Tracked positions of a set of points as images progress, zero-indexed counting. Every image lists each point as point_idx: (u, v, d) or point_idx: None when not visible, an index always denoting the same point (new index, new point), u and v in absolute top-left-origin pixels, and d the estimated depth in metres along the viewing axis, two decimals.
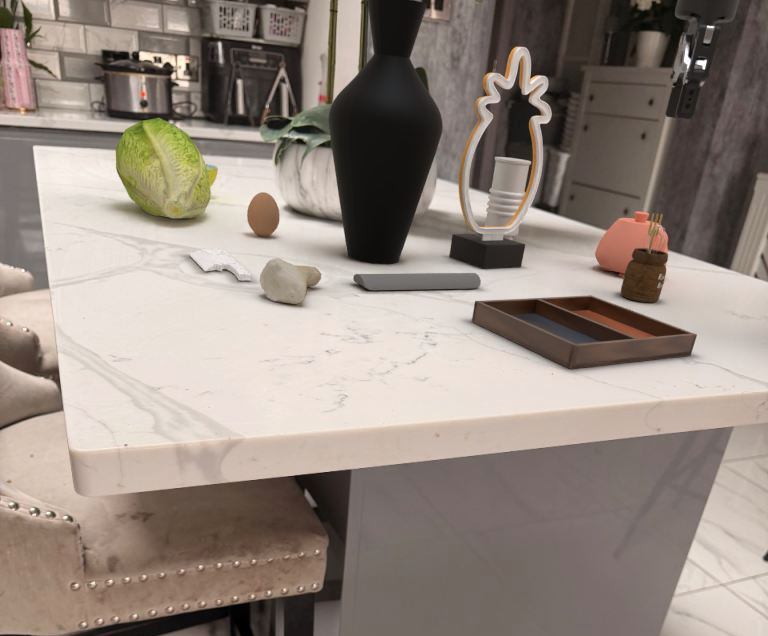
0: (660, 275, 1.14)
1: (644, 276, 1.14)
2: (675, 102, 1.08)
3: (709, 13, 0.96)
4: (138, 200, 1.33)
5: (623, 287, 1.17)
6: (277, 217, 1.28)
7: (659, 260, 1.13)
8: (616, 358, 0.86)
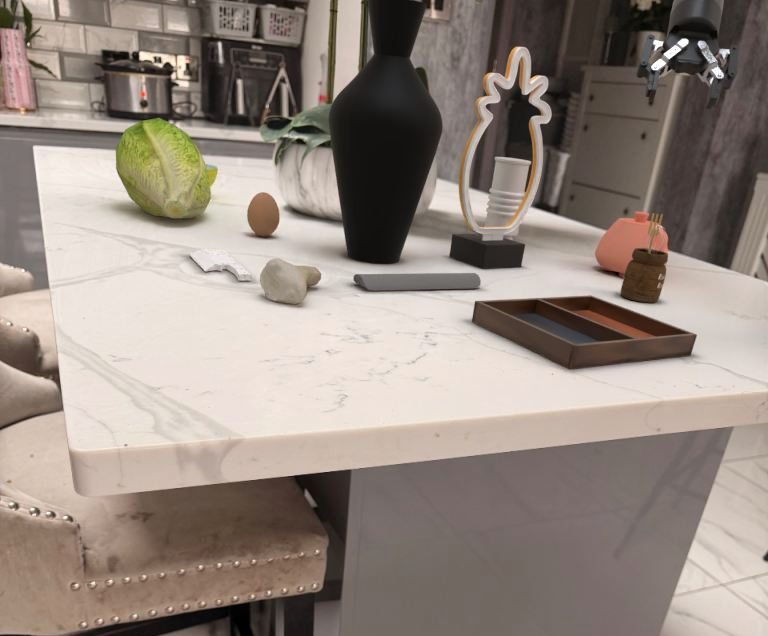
0: (660, 275, 1.14)
1: (644, 276, 1.14)
2: (708, 95, 1.15)
3: (667, 36, 1.18)
4: (138, 200, 1.33)
5: (623, 287, 1.17)
6: (277, 217, 1.28)
7: (659, 260, 1.13)
8: (616, 358, 0.86)
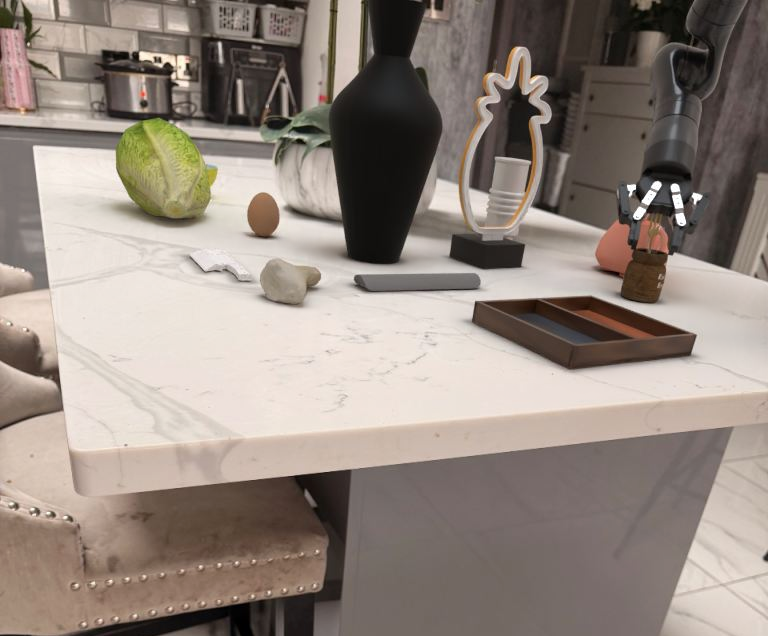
0: (659, 275, 1.14)
1: (644, 276, 1.14)
2: (670, 241, 1.13)
3: (640, 176, 1.17)
4: (138, 200, 1.33)
5: (623, 287, 1.17)
6: (277, 217, 1.28)
7: (659, 260, 1.13)
8: (616, 358, 0.86)
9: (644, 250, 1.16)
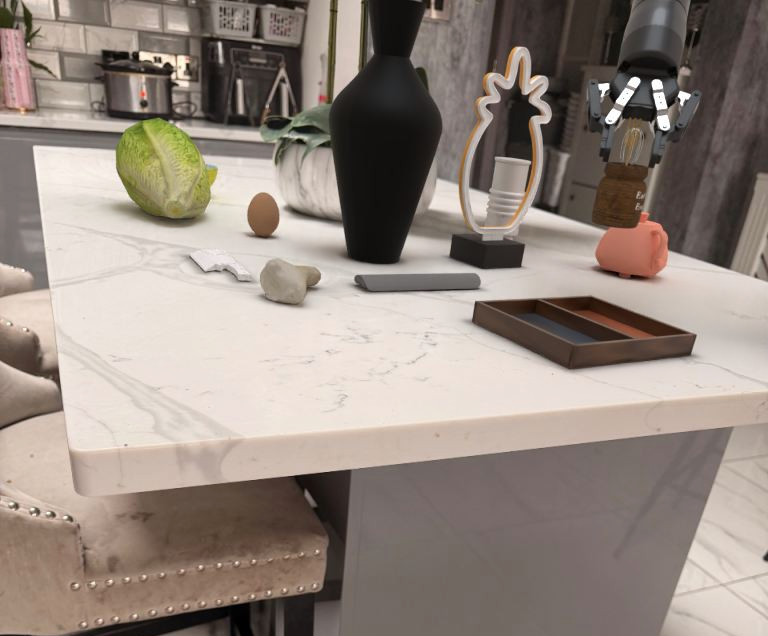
0: (638, 193, 0.92)
1: (618, 194, 0.92)
2: (651, 151, 0.91)
3: None
4: (138, 200, 1.33)
5: (594, 211, 0.95)
6: (277, 217, 1.28)
7: (637, 173, 0.91)
8: (616, 358, 0.86)
9: (620, 165, 0.95)
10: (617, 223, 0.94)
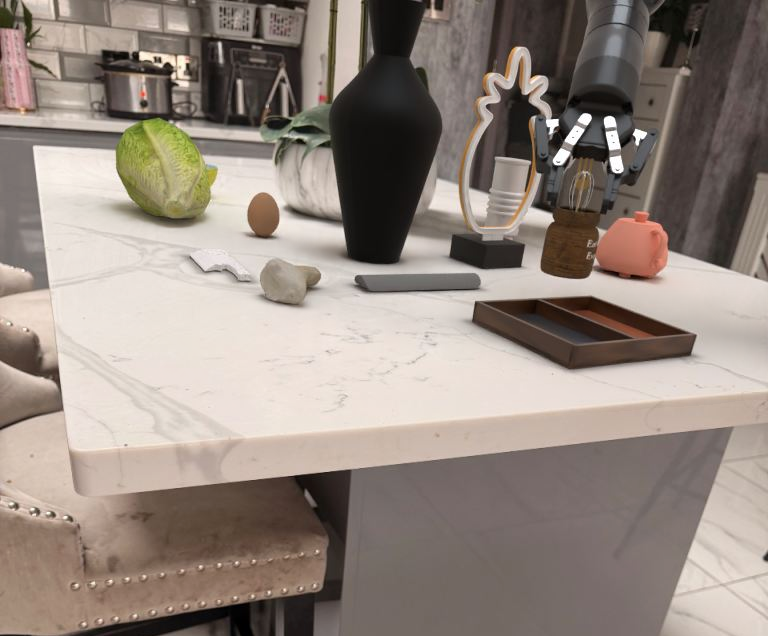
0: (589, 241, 0.83)
1: (567, 243, 0.83)
2: (603, 195, 0.83)
3: None
4: (138, 200, 1.33)
5: (542, 259, 0.87)
6: (277, 217, 1.28)
7: (587, 220, 0.83)
8: (616, 358, 0.86)
9: (570, 209, 0.86)
10: (567, 273, 0.85)
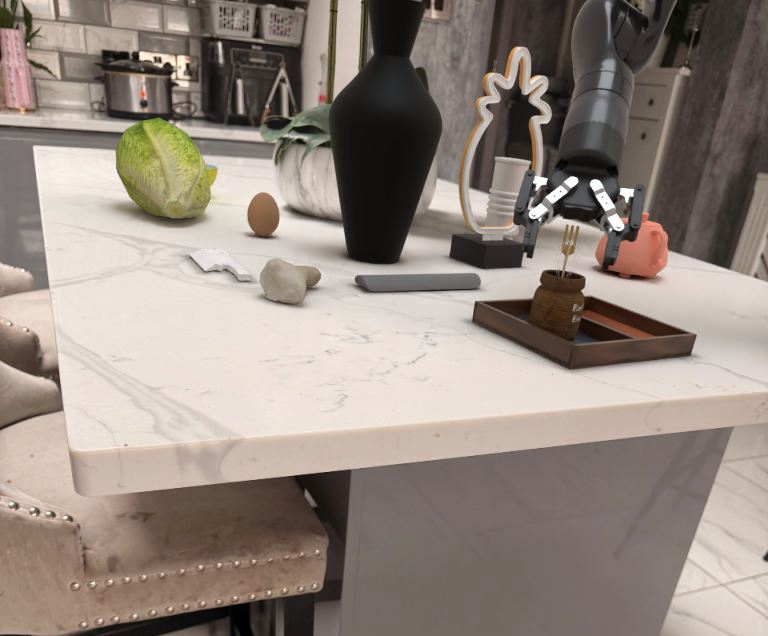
0: (574, 305, 0.87)
1: (554, 307, 0.87)
2: (605, 252, 0.86)
3: None
4: (138, 200, 1.33)
5: (530, 320, 0.90)
6: (277, 217, 1.28)
7: (573, 286, 0.86)
8: (616, 358, 0.86)
9: (557, 272, 0.90)
10: None
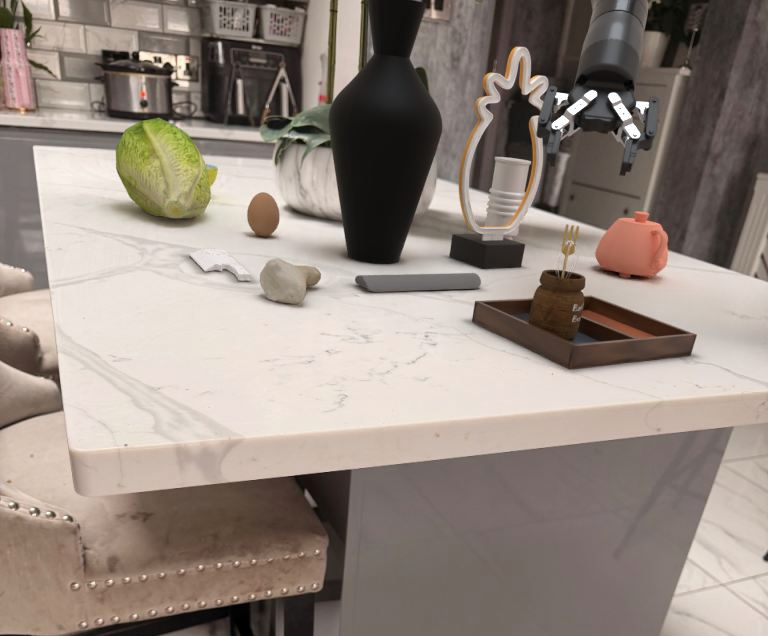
0: (574, 305, 0.87)
1: (554, 307, 0.87)
2: (622, 159, 0.93)
3: None
4: (138, 200, 1.33)
5: (530, 320, 0.90)
6: (277, 217, 1.28)
7: (573, 286, 0.86)
8: (616, 358, 0.86)
9: (557, 272, 0.90)
10: None
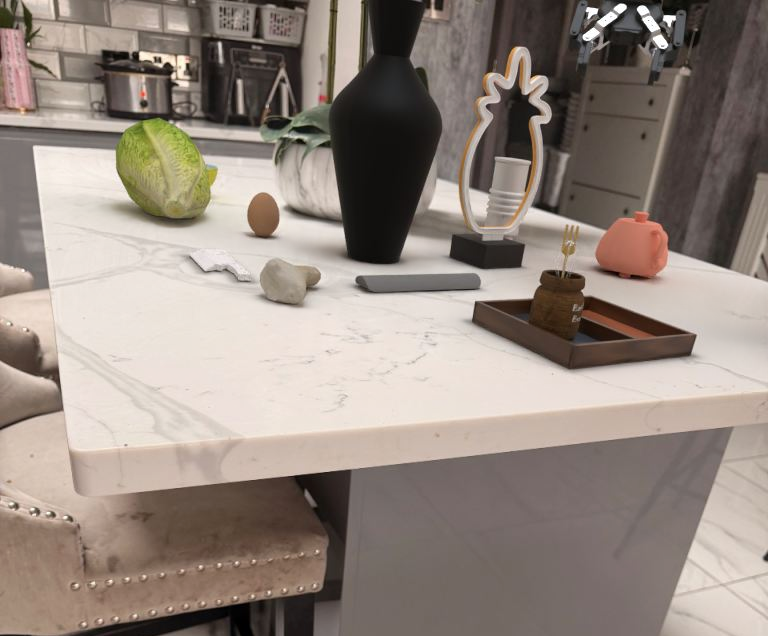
0: (574, 305, 0.87)
1: (554, 307, 0.87)
2: (650, 69, 0.97)
3: None
4: (138, 200, 1.33)
5: (530, 320, 0.90)
6: (277, 217, 1.28)
7: (573, 286, 0.86)
8: (616, 358, 0.86)
9: (557, 272, 0.90)
10: None
